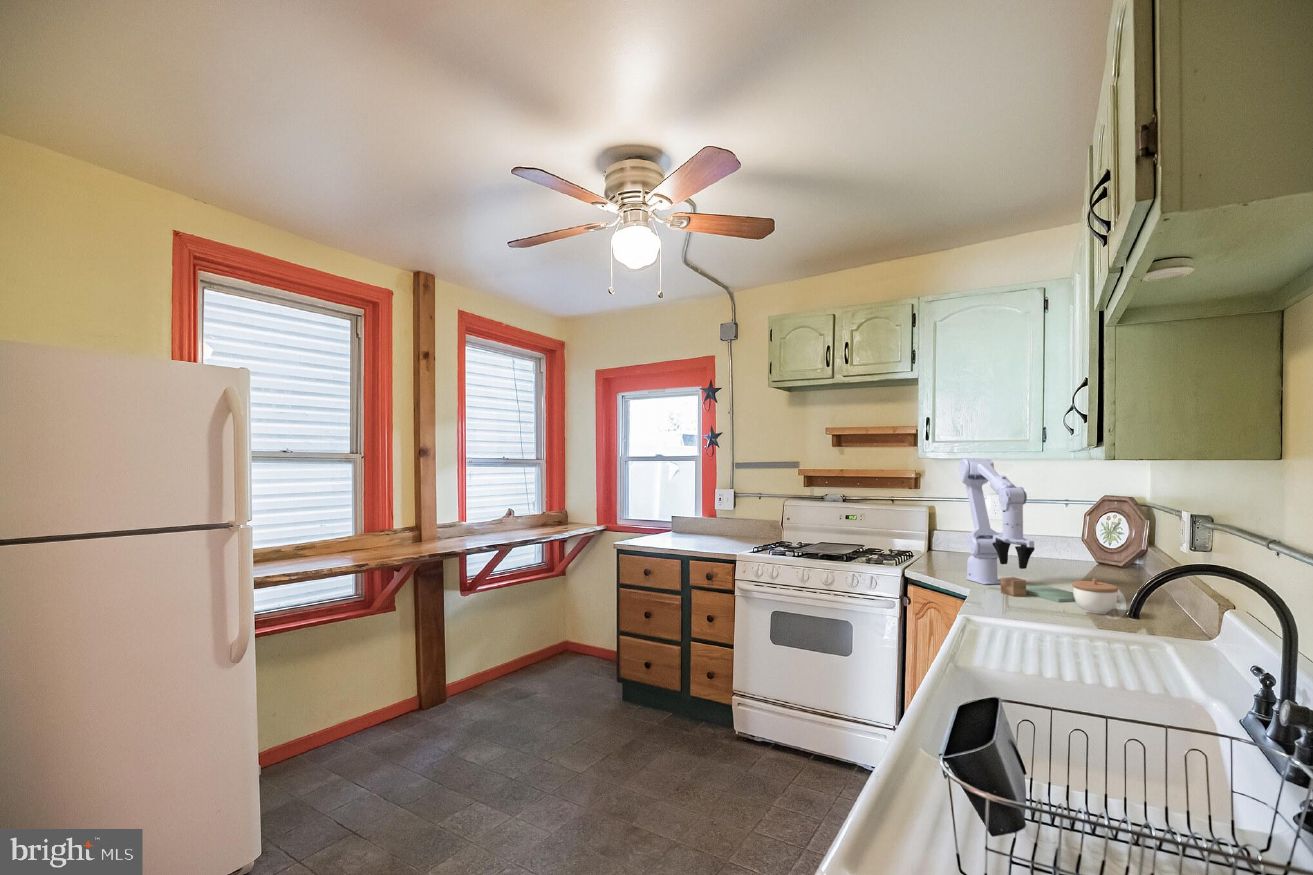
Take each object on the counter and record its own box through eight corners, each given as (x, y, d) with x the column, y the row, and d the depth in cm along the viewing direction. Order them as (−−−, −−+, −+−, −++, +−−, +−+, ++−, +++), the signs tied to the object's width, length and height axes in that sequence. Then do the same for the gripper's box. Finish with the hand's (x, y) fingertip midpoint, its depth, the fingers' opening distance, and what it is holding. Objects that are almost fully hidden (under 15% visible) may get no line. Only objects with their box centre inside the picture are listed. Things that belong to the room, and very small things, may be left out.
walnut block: (1000, 593, 200) (1000, 577, 200) (1013, 592, 201) (1013, 576, 201) (1013, 596, 195) (1013, 581, 195) (1026, 595, 196) (1026, 580, 196)
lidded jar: (1079, 604, 184) (1079, 573, 185) (1122, 612, 176) (1122, 579, 176) (1067, 610, 178) (1067, 578, 178) (1111, 618, 169) (1111, 584, 170)
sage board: (1015, 590, 203) (1015, 587, 203) (1045, 588, 206) (1045, 585, 206) (1058, 602, 187) (1058, 598, 187) (1089, 599, 190) (1089, 596, 190)
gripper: (985, 522, 204) (985, 562, 204) (1021, 527, 190) (1021, 571, 190) (1002, 521, 206) (1003, 561, 206) (1039, 526, 192) (1039, 570, 192)
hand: (1013, 566), depth 198 cm, fingers open, 7 cm apart
